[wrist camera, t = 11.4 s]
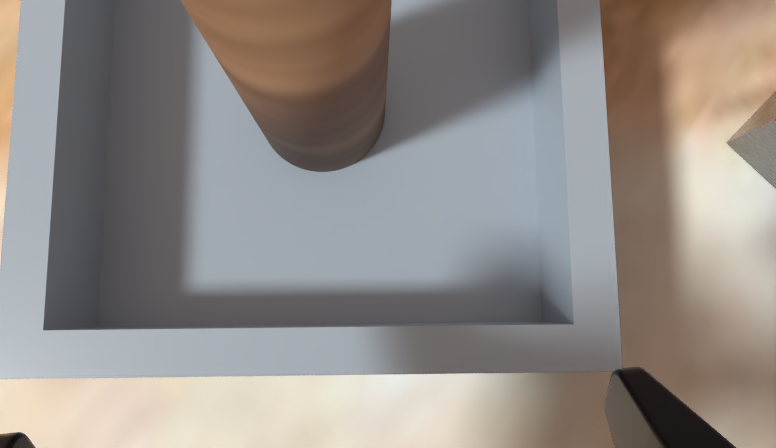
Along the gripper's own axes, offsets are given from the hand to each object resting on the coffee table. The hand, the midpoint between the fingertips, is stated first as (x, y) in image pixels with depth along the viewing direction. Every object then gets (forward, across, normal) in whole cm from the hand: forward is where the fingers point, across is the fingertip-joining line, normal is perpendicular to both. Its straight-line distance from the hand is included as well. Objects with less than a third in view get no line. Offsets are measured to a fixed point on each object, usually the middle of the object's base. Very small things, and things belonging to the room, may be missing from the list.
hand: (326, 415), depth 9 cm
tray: (+13, 0, +1) cm, 13 cm away
